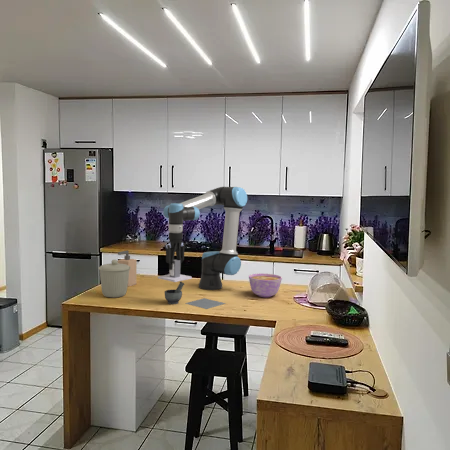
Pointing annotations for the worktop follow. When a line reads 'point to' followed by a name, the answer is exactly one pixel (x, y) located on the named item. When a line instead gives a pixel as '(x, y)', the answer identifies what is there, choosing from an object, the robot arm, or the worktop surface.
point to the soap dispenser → (132, 264)
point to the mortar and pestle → (174, 294)
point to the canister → (114, 279)
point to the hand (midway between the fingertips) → (174, 274)
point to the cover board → (167, 277)
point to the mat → (205, 303)
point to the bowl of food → (265, 284)
